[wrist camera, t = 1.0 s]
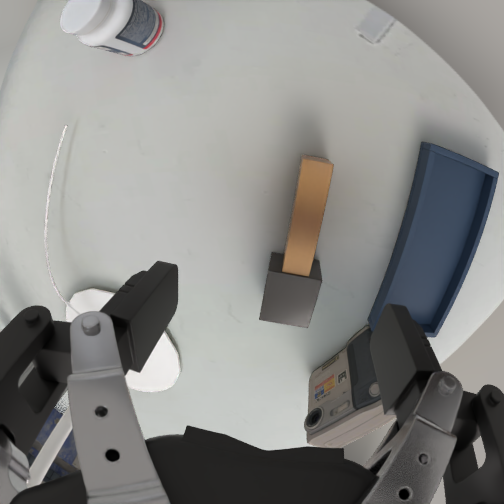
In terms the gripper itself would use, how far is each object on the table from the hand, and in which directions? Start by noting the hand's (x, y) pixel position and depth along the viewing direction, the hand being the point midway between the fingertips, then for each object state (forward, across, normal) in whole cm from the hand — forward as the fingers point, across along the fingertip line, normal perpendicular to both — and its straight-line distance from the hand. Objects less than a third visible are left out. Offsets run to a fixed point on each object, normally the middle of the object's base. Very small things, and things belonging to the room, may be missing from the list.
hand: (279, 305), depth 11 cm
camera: (+15, -11, +16) cm, 25 cm away
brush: (+15, -2, +3) cm, 15 cm away
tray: (+15, -14, +1) cm, 21 cm away
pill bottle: (+15, +16, -15) cm, 26 cm away
